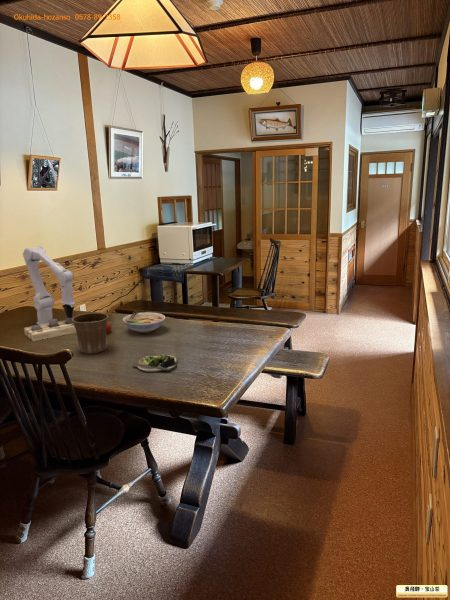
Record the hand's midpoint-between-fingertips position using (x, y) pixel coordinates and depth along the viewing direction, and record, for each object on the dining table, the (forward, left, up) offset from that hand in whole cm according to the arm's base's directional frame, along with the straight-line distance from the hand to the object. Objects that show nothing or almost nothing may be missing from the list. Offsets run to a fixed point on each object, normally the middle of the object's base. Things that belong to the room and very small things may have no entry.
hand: (69, 317), depth 238 cm
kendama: (+21, +6, -7) cm, 23 cm away
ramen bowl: (+30, +29, -7) cm, 43 cm away
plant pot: (+40, -5, -7) cm, 41 cm away
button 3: (0, 0, -4) cm, 4 cm away
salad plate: (+77, +9, -7) cm, 78 cm away
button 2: (0, -9, -4) cm, 10 cm away
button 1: (0, -18, -6) cm, 19 cm away
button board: (+1, -9, -6) cm, 11 cm away
